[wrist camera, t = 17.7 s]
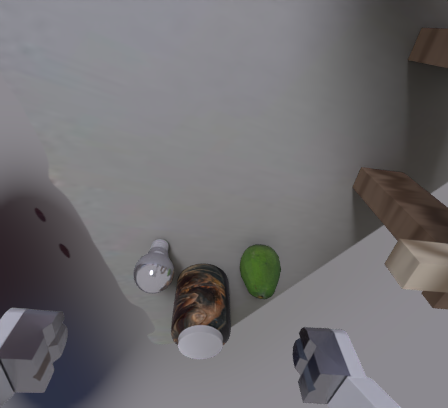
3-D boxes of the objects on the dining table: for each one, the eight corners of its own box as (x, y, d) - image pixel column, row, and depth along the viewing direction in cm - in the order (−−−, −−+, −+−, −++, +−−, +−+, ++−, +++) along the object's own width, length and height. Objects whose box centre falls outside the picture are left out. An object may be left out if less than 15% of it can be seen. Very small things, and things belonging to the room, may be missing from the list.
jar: (238, 289, 66) (244, 352, 53) (194, 306, 69) (190, 370, 56) (212, 255, 60) (212, 318, 48) (166, 276, 63) (154, 340, 51)
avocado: (235, 238, 58) (240, 284, 48) (274, 233, 58) (287, 278, 48) (240, 267, 62) (246, 314, 52) (277, 261, 62) (289, 309, 52)
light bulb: (157, 259, 60) (146, 307, 50) (136, 237, 57) (119, 283, 47) (185, 246, 59) (179, 293, 49) (165, 222, 55) (154, 267, 45)
